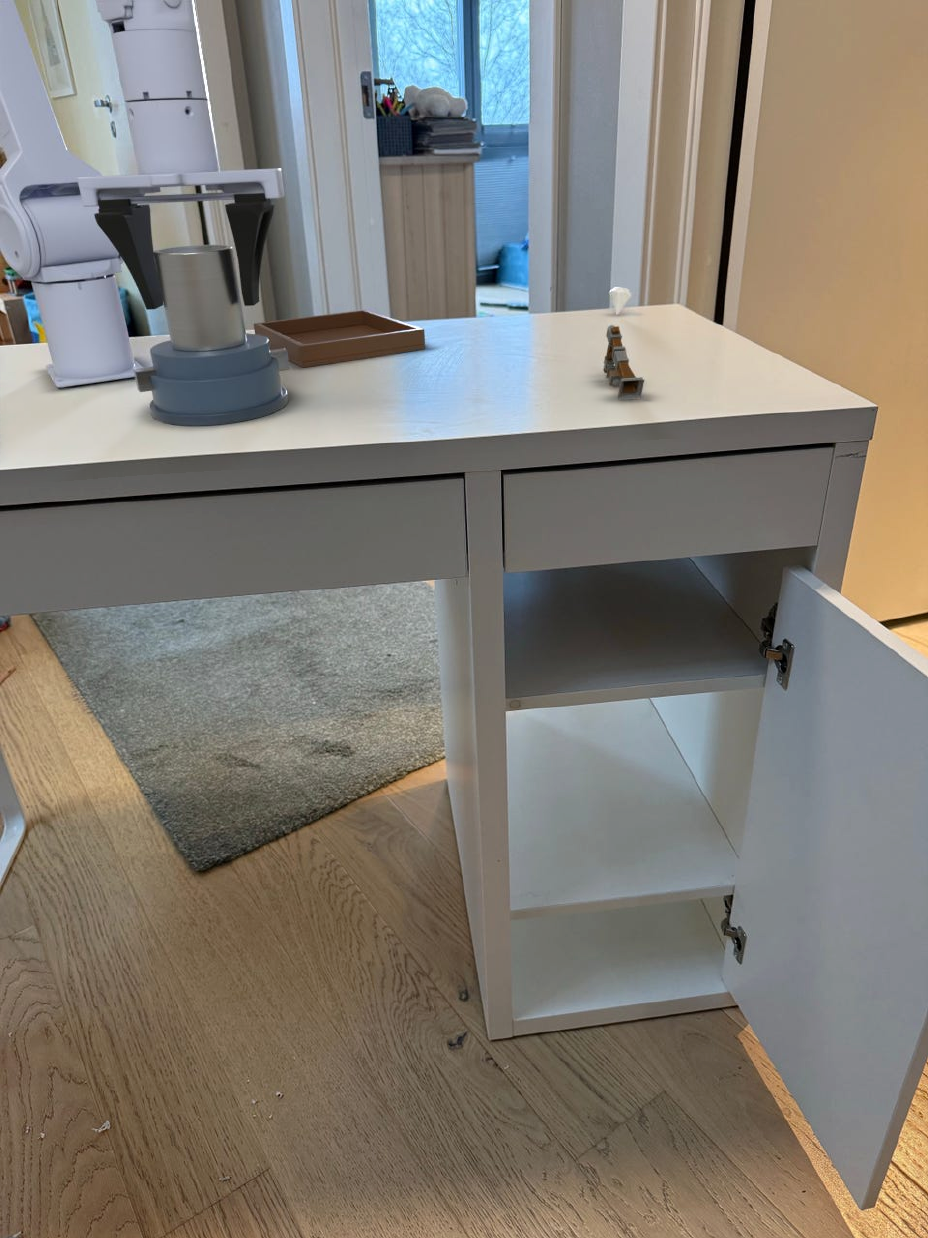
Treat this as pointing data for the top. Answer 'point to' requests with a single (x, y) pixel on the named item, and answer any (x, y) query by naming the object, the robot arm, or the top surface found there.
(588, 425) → the top surface
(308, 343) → the tray
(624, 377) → the brown grey angular piece
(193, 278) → the cup
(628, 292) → the gemstone
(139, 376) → the lidded cooking pot
